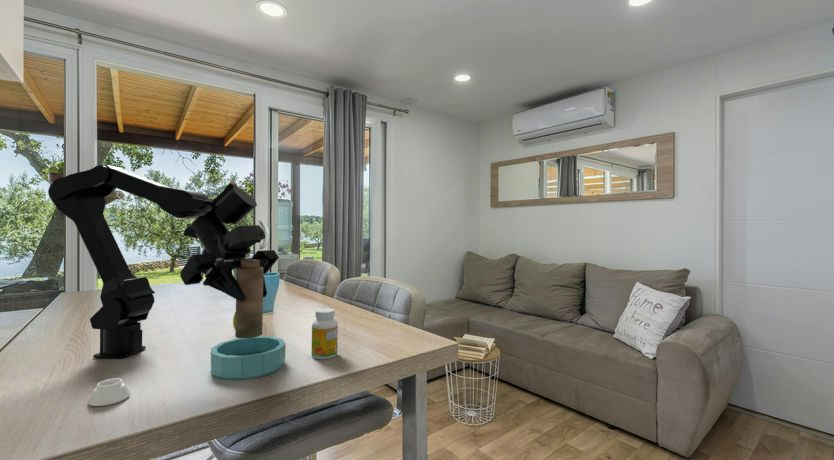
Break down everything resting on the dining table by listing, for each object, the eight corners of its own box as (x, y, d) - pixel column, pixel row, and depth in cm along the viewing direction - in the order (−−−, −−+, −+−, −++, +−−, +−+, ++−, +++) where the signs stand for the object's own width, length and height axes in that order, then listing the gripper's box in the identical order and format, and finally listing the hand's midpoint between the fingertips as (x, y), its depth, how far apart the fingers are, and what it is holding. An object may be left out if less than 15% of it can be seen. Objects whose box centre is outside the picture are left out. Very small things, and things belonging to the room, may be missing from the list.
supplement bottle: (306, 355, 80) (307, 310, 80) (328, 349, 84) (328, 306, 84) (320, 362, 76) (321, 314, 76) (342, 355, 80) (343, 310, 80)
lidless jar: (116, 407, 57) (136, 393, 62) (116, 388, 57) (136, 375, 61) (79, 409, 56) (103, 394, 61) (79, 389, 56) (103, 376, 61)
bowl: (195, 379, 67) (196, 356, 67) (232, 354, 80) (232, 335, 80) (268, 380, 67) (268, 358, 67) (293, 355, 80) (293, 336, 80)
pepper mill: (230, 338, 71) (231, 261, 71) (242, 331, 76) (243, 259, 76) (255, 338, 71) (257, 261, 71) (266, 331, 76) (267, 259, 76)
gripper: (191, 208, 66) (233, 275, 62) (273, 213, 83) (311, 266, 79) (163, 251, 70) (201, 318, 65) (247, 247, 87) (282, 300, 82)
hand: (254, 298), depth 73 cm, fingers closed on pepper mill, 5 cm apart
